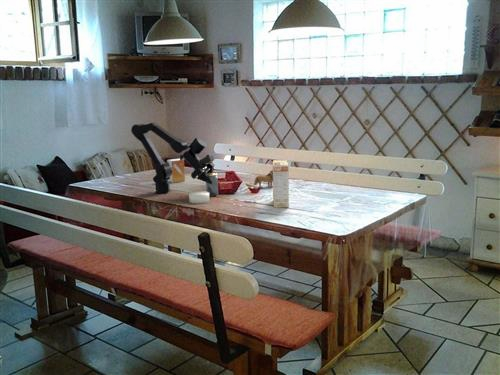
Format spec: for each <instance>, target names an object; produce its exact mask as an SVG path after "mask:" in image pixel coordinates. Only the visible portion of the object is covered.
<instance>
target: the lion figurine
mask: <svg viewBox="0 0 500 375" xmlns="http://www.w3.org/2000/svg"><path fill="white" fill-rule="evenodd" d="M262 182H263V183H267V186H268V187H271V188H273V169H272V170H270V172H268V174H266V175H257V176H256V177H255V179H254V182H253V183H254V184H253V186H254V185H256V186H257V184H258V186H259V188H260V189H263V188H264V187H263V186H262Z"/></svg>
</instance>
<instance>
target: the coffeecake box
mask: <svg viewBox="0 0 500 375" xmlns="http://www.w3.org/2000/svg"><path fill="white" fill-rule="evenodd" d="M272 170H273V181H272V186H273V187H272V195H273V196H272V198H273V199H272V200H273V208H289V206H290V200H289V199H290V197H289V196H290V192H289V191H290V188H289V187H290V186H289V185H290V184H289V183H290V180H289V178H290V177H289V163H288V160H287V159H284V160H283V159H282V160H279V159H275V160H272Z"/></svg>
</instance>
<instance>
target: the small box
mask: <svg viewBox="0 0 500 375" xmlns="http://www.w3.org/2000/svg"><path fill="white" fill-rule="evenodd" d="M166 162H168V163H169V165H170V166H171V168H172V175H171V176H170V179H169V180H168V183H172V184H174V183H182V182H183V181H184V182H186V180H185V178H186V175H185V159H183V160H180V158H173V159H172V158H171V159H167V160H166Z"/></svg>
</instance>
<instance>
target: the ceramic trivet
mask: <svg viewBox="0 0 500 375" xmlns="http://www.w3.org/2000/svg"><path fill="white" fill-rule="evenodd" d="M210 197H211V196H209V192H206V190H205V191H204V190H197V191H196V190H195V191H190V192H189V193H188V202H189V204H190V203H191V204H206V203H209V202H210V200H211V199H210Z"/></svg>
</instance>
